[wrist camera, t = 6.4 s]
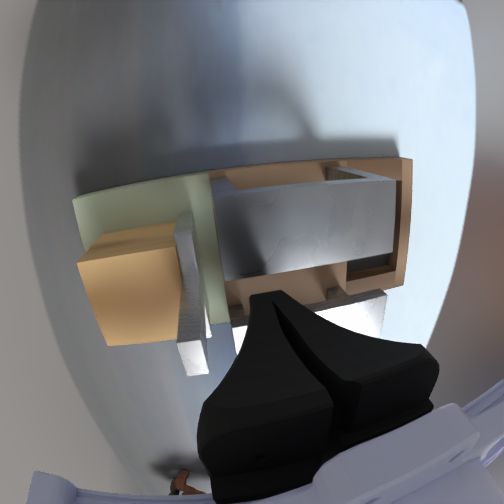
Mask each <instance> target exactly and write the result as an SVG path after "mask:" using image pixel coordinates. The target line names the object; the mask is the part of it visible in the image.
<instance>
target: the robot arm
mask: <svg viewBox="0 0 504 504" xmlns="http://www.w3.org/2000/svg"><path fill="white" fill-rule="evenodd" d="M249 304H250V315H249V321H248V326H247V330H246V333H245V337H244V340H243V343H242V345H241V348H240V350H239V352H238V355H237V357H236V358H235V360H234V362H233V364H232V366H231V368H230V369H229V371H228V373H227V374H226V375H225V377H224V378H223V380H222V381H221V383H220V384H219V385H218V387H217V388H216V389H215V390H214V391H213V393H212V394H211V395H210V396H209V397H208V398H207V399H206V400H205V401H204V403H203V406H202V410H201V413H200V418H199V422H198V429H197V448H198V454H199V458H200V460H201V461H202V463H203V465H204V467H205V468H206V470H207V472H208V473H209V475H210V480H211V489H212V493H210V494H196V495H132V494H119V493H109V492H100V491H92V490H86V489H80V488H76V486H75V485H74V484H73V483H71V482H70V481H68V480H67V479H65V478H63V477H61V476H57V475H52V474H48V473H44V472H40V471H34V473H33V477H32V481H31V485H30V489H29V495H28V499H27V503H26V504H504V495H503V493H502V492H501V490H500V489H499V487H498V486H497V484H496V483H495V481H494V480H493V478H492V477H491V475H490V474H489V473H488V471H487V470H486V468H485V467H486V466H487V465H488V464H490V463H491V462H492V461H493V460H494V459H495V458H496V457H497V456H498V455H499V454H501V453H502V452H503V451H504V379H502V380H501V381H500V382H499V383H497V384H496V385H495V386H493V387H492V388H491V389H489V390H488V391H487V392H485V393H484V394H482V395H481V396H480V397H478V398H477V399H475V400H474V401H472V402H471V403H469V404H468V405H466V406H465V407H463V408H462V409H461V408H460V406H458V405H457V404H455V403H450V404H448V405H445V406H442V407H440V408H438V409H436V410H434V411H431V410H432V409H433V407H434V406H433V404H432V402H431V401H430V400H429V397H430V394H431V392H432V390H433V388H434V386H435V383H436V381H437V378H438V374H439V364H438V362H437V360H436V359H435V358H434V357H433V356H432V355H431V354H430V353H429V352H428V351H427V350H426V349H425V348H424V347H423V346H422V345H421V344H412V343H402V342H394V341H389V340H384V339H379V338H375V337H371V336H367V335H364V334H361V333H358V332H355V331H352V330H349V329H347V328H344V327H342V326H340V325H337V324H335V323H333V322H331V321H329V320H327V319H325V318H323V317H321V316H320V315H318V314H316V313H314V312H313V311H311V310H310V309H308V308H306V307H305V306H303V305H302V304H300V303H299V302H298V301H296V300H295V299H293V298H292V297H291V296H289V295H288V294H287V293H285V292H284V291H282V290H275V291H270V292H264V293H259V294H253V295H251V296H250V297H249Z"/></svg>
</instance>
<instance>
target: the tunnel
mask: <svg viewBox="0 0 504 504" xmlns="http://www.w3.org/2000/svg"><path fill="white" fill-rule="evenodd" d="M325 167H326V181H320V182H308V183H298V184H288V185H278V186H269V187H260V188H252V189H244V190H236V188H235V187H234V186H233V184H232V183H231V181H230V180H229V179H228V177H227V176H222V177H215V178H209V183H210V190H211V197H212V203H213V208H214V213H215V219H216V226H217V233H218V240H219V247H220V254H221V261H222V268H223V274H224V280H225V281H232V280H238V279H244V278H250V277H256V276H263V275H269V274H275V273H281V272H287V271H292V270H298V269H304V268H310V267H315V266H321V265H327V264H332V263H338V262H343V261H349V260H354V259H360V258H365V257H370V256H375V255H381V254H386V253H391V252H393V240H394V226H395V206H396V180H395V179H391V178H388V177H384V176H380V175H377V174H373V173H369V172H365V171H361V170H357V169H353V168H349V167H345V166H340V165H339V166H325ZM386 301H387V294H386V293H385V292H383V291H382V290H381V289H380V288H378V289H374V290H370V291H366V292H361V293H357V294H353V295H348V294H347V293H346V292H345V291H344V290H343V289H342V288H341V287H340V286H335V287H331V288H327V300H326V301H321V302H316V303H311V304H306V305H303V306H305V307H306V308H308V309H310V310H311V311H313V312H314V313H316V314H318V315H320V316H321V317H323V318H325V319H327V320H329V321H331V322H333V323H335V324H337V325H340V326H342V327H344V328H347V329H349V330H352V331H355V332H358V333H361V334H364V335H367V336H371V337H375V338H379V339H380V336H381V331H382V326H383V320H384V314H385V308H386ZM228 312H229V318H230V324H231V329H232V334H233V340H234V345H235V350H236V355H238V352H239V350H240V348H241V345H242V343H243V340H244V337H245V333H246V330H247V326H248V321H249V315H247V316H245V312H244V308H243V304H238V305H232V306H228Z"/></svg>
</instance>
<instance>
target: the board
mask: <svg viewBox="0 0 504 504" xmlns="http://www.w3.org/2000/svg"><path fill="white" fill-rule="evenodd" d="M339 165H340V166H345V167H349V168H353V169H357V170H361V171H365V172H369V173H373V174H377V175H380V176H384V177H388V178H391V179H395V180H396V206H395V226H394V240H393V252H391V253H389V259H388V265H384V266H380V267H375V268H370V269H365V270H360V271H355V272H350V273H346V272H347V261H343V262H338V263H332V264H327V265H321V266H315V267H310V268H304V269H298V270H292V271H287V272H281V273H275V274H269V275H263V276H256V277H250V278H244V279H238V280H232V281H225V280H224V274H223V268H222V261H221V254H220V247H219V240H218V233H217V226H216V219H215V213H214V208H213V203H212V197H211V190H210V183H209V178H215V177H222V176H227V177H228V179H229V180H230V181H231V183H232V184H233V186H234V187H235V188H236V190H244V189H252V188H260V187H269V186H278V185H288V184H298V183H308V182H320V181H326V167H325V166H339ZM412 168H413V163H412V159H408V158H402V157H367V158H337V159H318V160H303V161H290V162H278V163H268V164H258V165H248V166H240V167H231V168H224V169H216V170H209V171H202V172H195V173H189V174H182V175H176V176H170V177H165V178H159V179H153V180H148V181H143V182H138V183H133V184H128V185H123V186H118V187H113V188H109V189H104V190H100V191H96V192H91V193H87V194H83V195H80V196H78V197H76V198H74V199H73V200H72V201H73V205H74V210H75V214H76V219H77V223H78V227H79V231H80V235H81V239H82V242H83V246H84V250H85V253H86V252H87V251H88V250H89V248H90V247H91V246H92V245H93V244H94V243H95V242H96V241H97V240H98V239H99V238H100V237H101V236H102V234H107V233H112V232H117V231H123V230H128V229H134V228H139V227H145V226H151V225H157V224H163V223H169V222H175V221H177V219H178V216H179V213H186V212H192V211H193V215H194V221H195V228H196V234H197V240H198V246H199V252H200V257H201V263H202V269H203V274H204V279H205V285H206V290H207V295H208V301H209V311H210V323H211V325H214V324H220V323H227V322H230V318H229V312H228V306H232V305H238V304H243V308H244V312H245V316H247V315H250V304H249V297H250V296H251V295H253V294H259V293H264V292H270V291H275V290H282V291H284V292H285V293H287V294H288V295H289V296H291V297H292V298H293V299H295V300H296V301H298V302H299V303H300V304H302V305H306V304H311V303H316V302H321V301H326V300H327V288H331V287H335V286H340V287H341V288H342V289H343V290H344V291H345V292H346V293H347V294H348V295H353V294H357V293H361V292H366V291H370V290H374V289H378V288H380V289H381V290H382V291H383V290H387V289H391V288H395V287H398V286H402V285H403V284H404V277H405V270H406V262H407V254H408V244H409V234H410V221H411V205H412Z"/></svg>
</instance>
